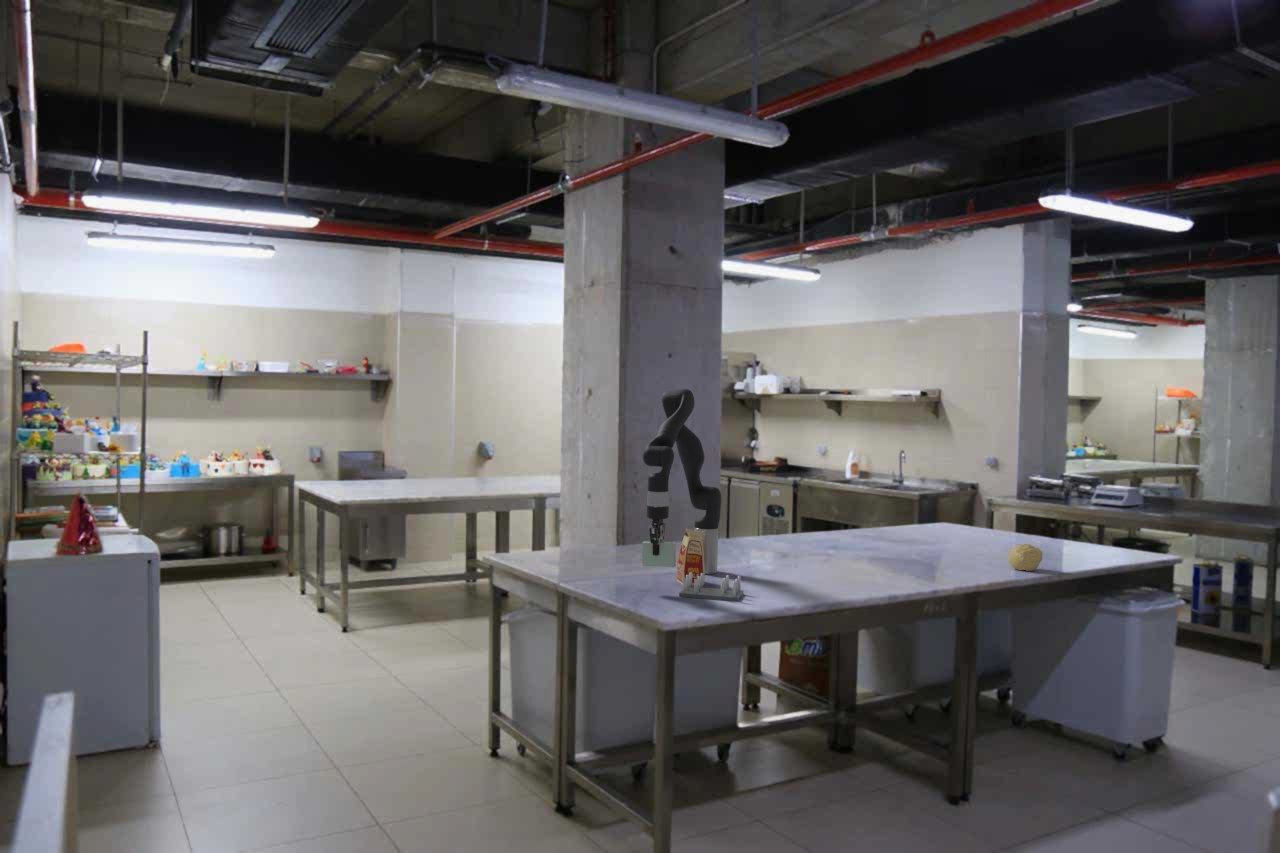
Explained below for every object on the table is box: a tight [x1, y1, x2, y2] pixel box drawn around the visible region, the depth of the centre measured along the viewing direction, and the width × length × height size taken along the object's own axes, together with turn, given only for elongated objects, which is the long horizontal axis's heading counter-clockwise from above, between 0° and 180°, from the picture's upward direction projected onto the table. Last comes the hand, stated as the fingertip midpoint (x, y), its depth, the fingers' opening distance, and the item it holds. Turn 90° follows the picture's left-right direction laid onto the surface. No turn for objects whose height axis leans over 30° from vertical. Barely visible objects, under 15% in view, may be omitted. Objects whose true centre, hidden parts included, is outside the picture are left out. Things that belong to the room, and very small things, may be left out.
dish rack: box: [678, 572, 744, 602], centre depth 306 cm, size 12×20×6 cm, turn 75°
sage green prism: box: [641, 540, 677, 568], centre depth 308 cm, size 3×11×8 cm, turn 75°
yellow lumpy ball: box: [1008, 543, 1044, 572], centre depth 370 cm, size 11×12×11 cm
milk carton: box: [676, 528, 706, 586], centre depth 327 cm, size 9×9×20 cm
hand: (657, 554), depth 308 cm, fingers closed on sage green prism, 3 cm apart
